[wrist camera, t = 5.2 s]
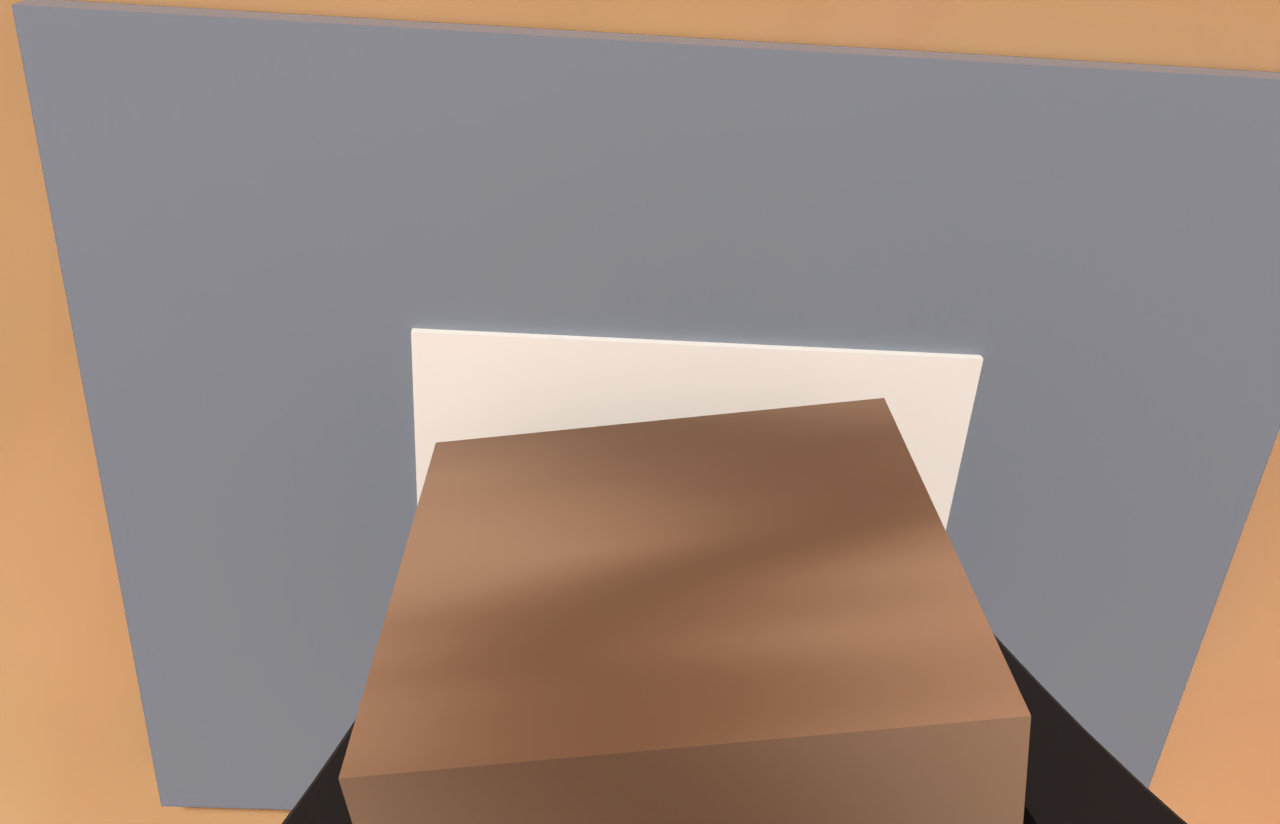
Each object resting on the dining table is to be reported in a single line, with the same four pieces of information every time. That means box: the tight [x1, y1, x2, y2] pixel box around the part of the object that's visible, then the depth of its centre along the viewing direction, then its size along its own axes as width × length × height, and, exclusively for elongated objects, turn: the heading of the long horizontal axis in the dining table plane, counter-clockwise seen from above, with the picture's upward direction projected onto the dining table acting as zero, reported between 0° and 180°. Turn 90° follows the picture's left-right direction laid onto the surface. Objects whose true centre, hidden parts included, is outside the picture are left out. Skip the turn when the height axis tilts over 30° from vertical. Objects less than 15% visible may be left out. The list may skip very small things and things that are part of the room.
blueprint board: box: [12, 0, 1280, 810], centre depth 13 cm, size 13×10×1 cm
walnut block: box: [338, 398, 1031, 824], centre depth 10 cm, size 4×4×4 cm
